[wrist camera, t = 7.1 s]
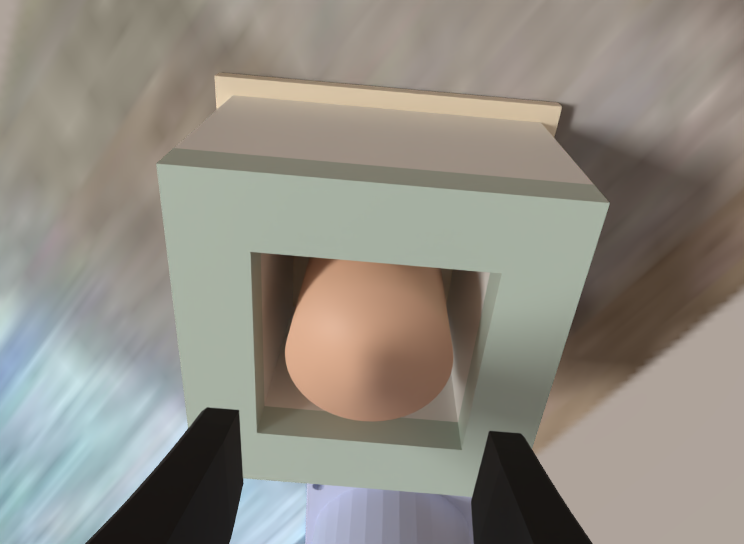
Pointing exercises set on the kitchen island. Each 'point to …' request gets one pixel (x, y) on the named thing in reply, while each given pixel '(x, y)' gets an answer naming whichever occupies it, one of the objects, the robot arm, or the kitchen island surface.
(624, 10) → the kitchen island surface
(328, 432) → the socket
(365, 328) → the peg
